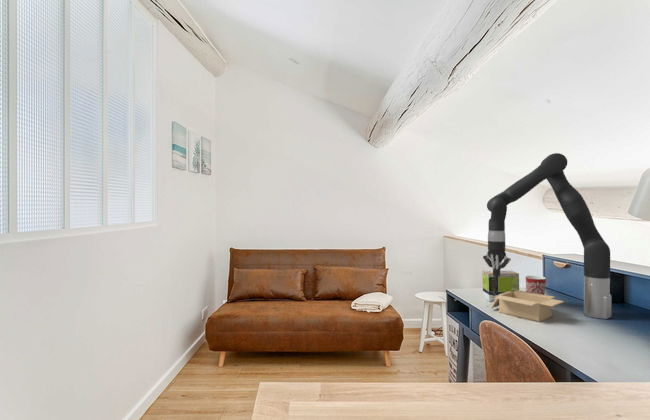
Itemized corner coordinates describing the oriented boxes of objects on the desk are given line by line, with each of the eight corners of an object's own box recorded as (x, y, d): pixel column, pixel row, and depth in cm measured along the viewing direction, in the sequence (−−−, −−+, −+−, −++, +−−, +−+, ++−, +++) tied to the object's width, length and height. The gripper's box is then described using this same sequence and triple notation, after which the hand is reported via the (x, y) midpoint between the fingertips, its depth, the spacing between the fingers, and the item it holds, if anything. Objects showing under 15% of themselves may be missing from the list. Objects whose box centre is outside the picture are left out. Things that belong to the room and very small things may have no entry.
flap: (510, 290, 176) (501, 303, 180) (498, 294, 170) (490, 307, 173) (511, 291, 176) (502, 304, 179) (499, 295, 170) (491, 308, 173)
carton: (568, 317, 162) (568, 298, 162) (546, 327, 149) (546, 307, 148) (517, 306, 179) (517, 289, 179) (493, 314, 166) (493, 296, 166)
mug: (549, 307, 177) (549, 279, 177) (528, 306, 180) (528, 278, 179) (540, 300, 190) (540, 274, 190) (520, 299, 192) (520, 273, 192)
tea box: (511, 297, 196) (511, 269, 196) (519, 302, 186) (519, 273, 186) (482, 297, 198) (482, 269, 198) (488, 302, 188) (488, 272, 188)
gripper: (514, 240, 173) (514, 277, 173) (487, 238, 183) (487, 273, 184) (506, 241, 168) (506, 280, 169) (479, 239, 179) (479, 275, 179)
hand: (496, 276), depth 176 cm, fingers closed
